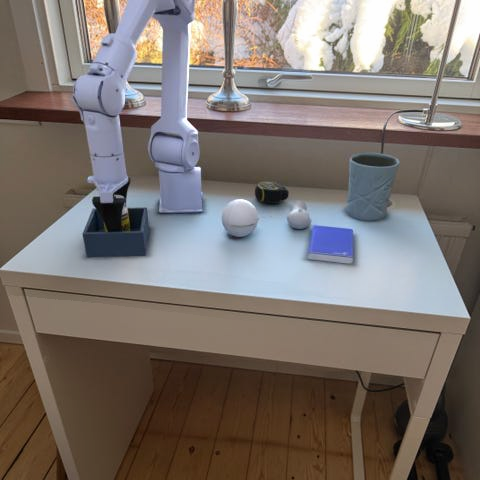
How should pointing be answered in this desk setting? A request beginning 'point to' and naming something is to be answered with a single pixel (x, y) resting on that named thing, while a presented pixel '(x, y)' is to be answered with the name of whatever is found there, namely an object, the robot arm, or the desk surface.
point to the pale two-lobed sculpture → (298, 215)
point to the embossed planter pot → (370, 185)
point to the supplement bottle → (123, 218)
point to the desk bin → (117, 236)
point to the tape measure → (270, 192)
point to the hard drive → (331, 244)
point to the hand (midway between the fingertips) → (117, 225)
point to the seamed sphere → (240, 218)
